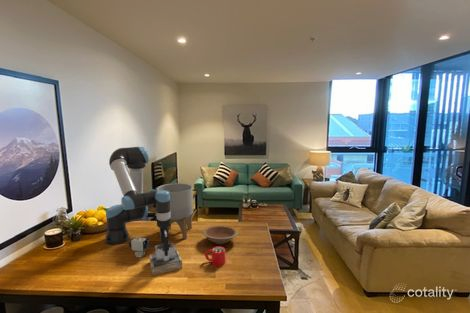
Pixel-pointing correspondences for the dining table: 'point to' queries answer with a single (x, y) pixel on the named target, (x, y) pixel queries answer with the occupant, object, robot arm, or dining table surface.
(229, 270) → the dining table surface
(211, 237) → the bowl
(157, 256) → the housing
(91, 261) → the dining table surface
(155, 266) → the stand
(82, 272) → the dining table surface
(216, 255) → the mug
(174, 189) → the planter
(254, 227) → the dining table surface
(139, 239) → the pneumatic valve
